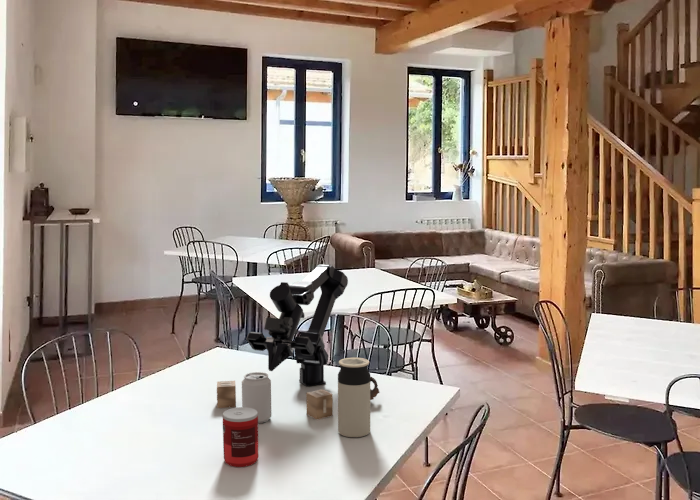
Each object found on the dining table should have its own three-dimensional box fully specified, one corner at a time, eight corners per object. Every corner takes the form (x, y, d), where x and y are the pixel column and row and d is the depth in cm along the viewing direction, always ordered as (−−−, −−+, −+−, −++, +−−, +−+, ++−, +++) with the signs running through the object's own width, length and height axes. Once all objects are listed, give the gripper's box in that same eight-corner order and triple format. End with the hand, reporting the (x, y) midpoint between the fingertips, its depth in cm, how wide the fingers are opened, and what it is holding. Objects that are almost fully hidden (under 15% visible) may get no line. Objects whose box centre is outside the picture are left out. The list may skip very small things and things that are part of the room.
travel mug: (359, 440, 164) (359, 367, 162) (331, 434, 168) (331, 362, 166) (376, 430, 171) (376, 359, 169) (349, 424, 175) (348, 355, 173)
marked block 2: (322, 410, 185) (322, 388, 185) (332, 416, 181) (332, 393, 180) (306, 414, 182) (306, 392, 182) (316, 420, 178) (316, 397, 178)
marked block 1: (235, 401, 193) (235, 380, 193) (236, 407, 188) (235, 385, 188) (217, 402, 192) (216, 381, 192) (217, 408, 187) (216, 386, 187)
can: (266, 425, 174) (265, 379, 173) (238, 423, 176) (237, 378, 174) (275, 415, 181) (274, 371, 180) (248, 413, 183) (247, 370, 182)
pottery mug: (381, 397, 198) (384, 377, 193) (370, 420, 190) (373, 401, 186) (343, 383, 201) (345, 363, 196) (330, 406, 193) (332, 386, 189)
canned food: (240, 450, 159) (239, 404, 157) (266, 458, 154) (265, 411, 153) (216, 462, 152) (214, 414, 151) (242, 470, 148) (241, 421, 147)
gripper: (249, 303, 191) (228, 351, 182) (309, 308, 184) (291, 357, 175) (263, 325, 199) (244, 372, 190) (321, 331, 192) (305, 379, 183)
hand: (270, 370), depth 184 cm, fingers closed
